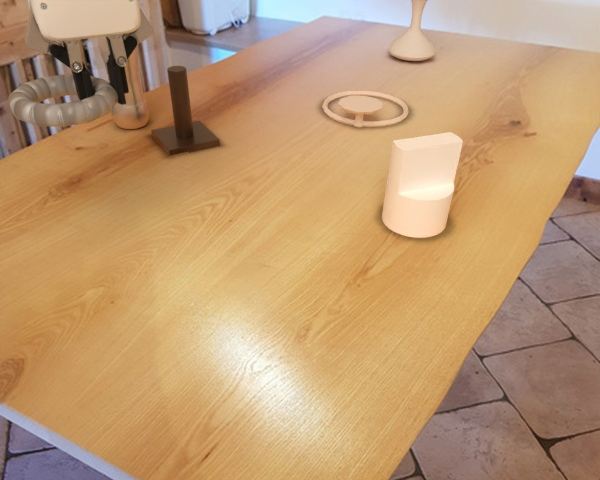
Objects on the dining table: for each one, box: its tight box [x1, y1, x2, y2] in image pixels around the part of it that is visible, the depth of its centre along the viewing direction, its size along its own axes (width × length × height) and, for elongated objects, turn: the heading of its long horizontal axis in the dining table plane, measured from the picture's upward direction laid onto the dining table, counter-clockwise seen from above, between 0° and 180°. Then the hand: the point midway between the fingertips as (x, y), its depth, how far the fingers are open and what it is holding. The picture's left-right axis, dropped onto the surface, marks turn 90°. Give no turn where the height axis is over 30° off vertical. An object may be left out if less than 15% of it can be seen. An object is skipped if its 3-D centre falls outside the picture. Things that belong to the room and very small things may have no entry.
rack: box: [150, 65, 221, 157], centre depth 91 cm, size 9×9×12 cm
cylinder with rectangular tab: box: [381, 131, 464, 239], centre depth 73 cm, size 9×9×12 cm
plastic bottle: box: [96, 34, 150, 130], centre depth 94 cm, size 6×7×20 cm
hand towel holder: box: [321, 89, 409, 128], centre depth 105 cm, size 17×4×21 cm
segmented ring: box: [7, 73, 118, 128], centre depth 59 cm, size 11×11×2 cm
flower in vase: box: [387, 0, 436, 62], centre depth 125 cm, size 13×11×25 cm
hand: (104, 101), depth 61 cm, fingers closed on segmented ring, 2 cm apart
